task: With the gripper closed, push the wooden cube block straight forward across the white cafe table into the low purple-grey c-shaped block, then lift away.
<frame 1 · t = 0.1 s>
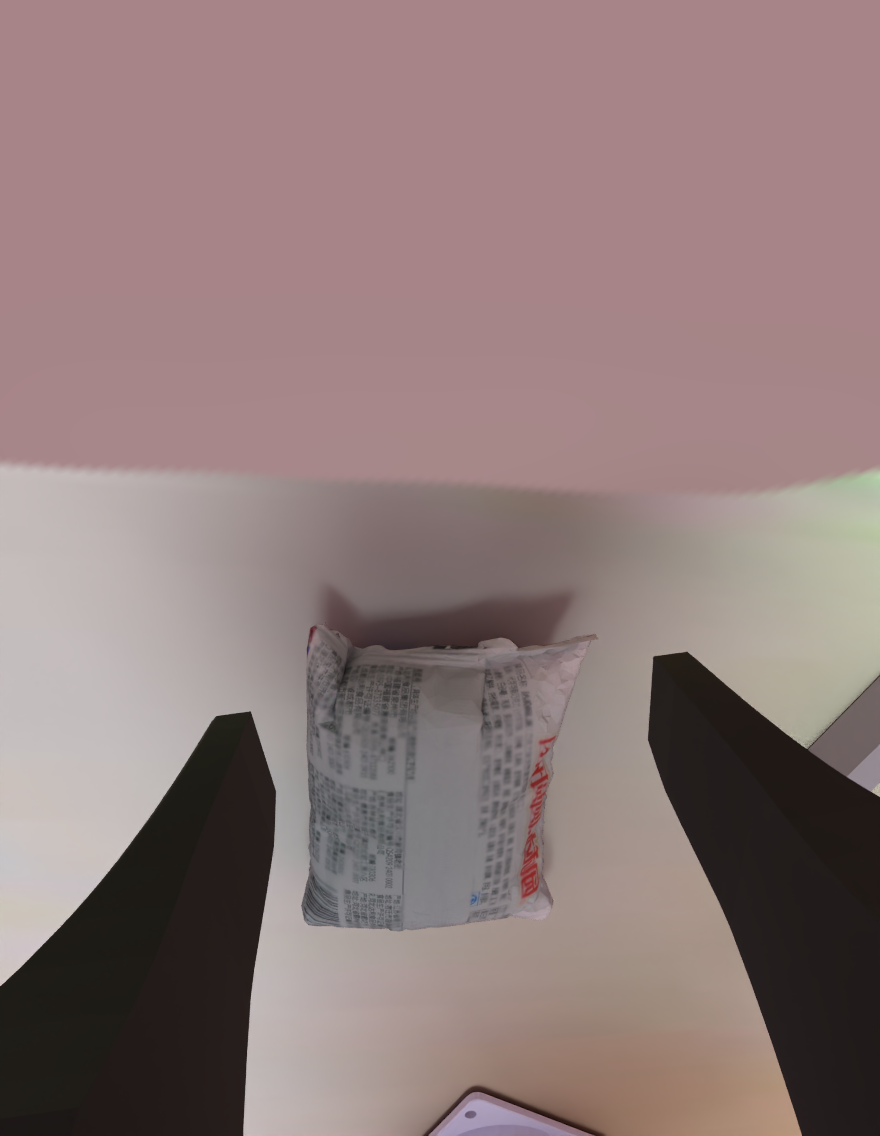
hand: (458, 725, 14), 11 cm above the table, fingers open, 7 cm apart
packaged food: (441, 743, 27), on the table
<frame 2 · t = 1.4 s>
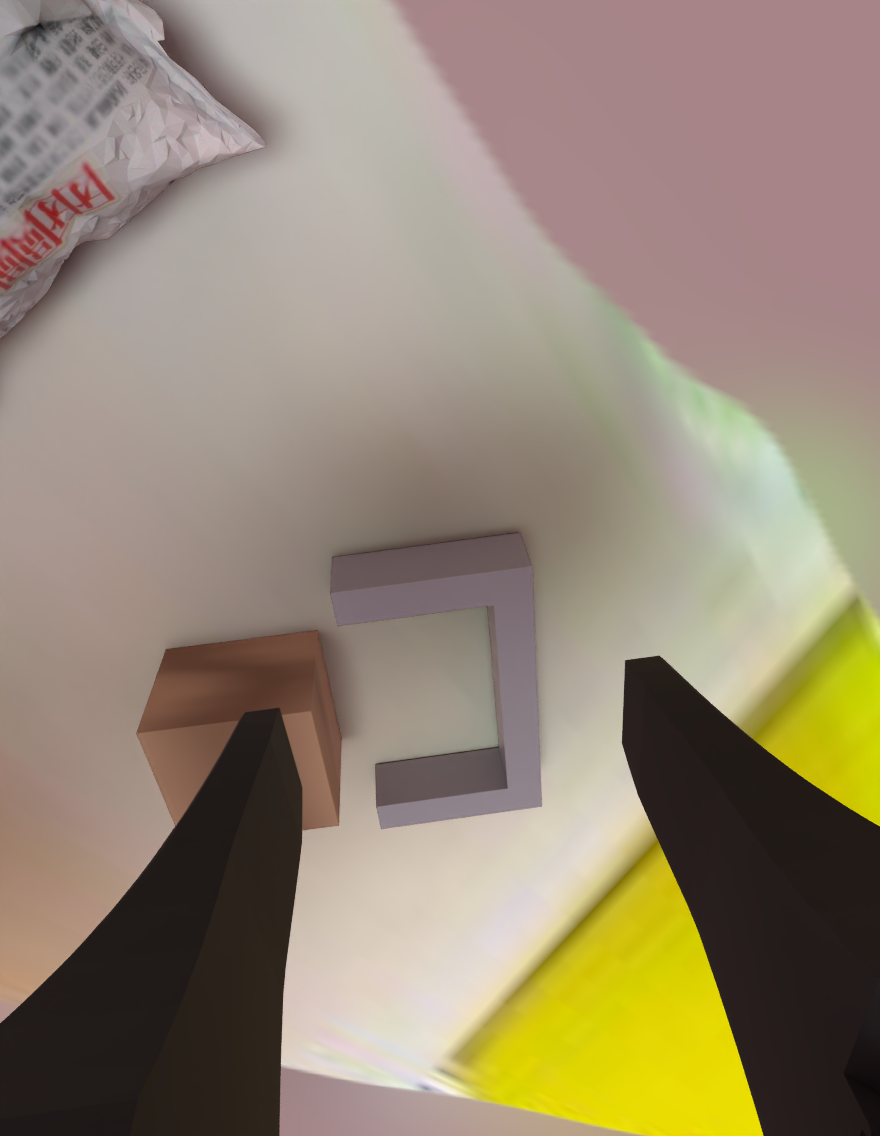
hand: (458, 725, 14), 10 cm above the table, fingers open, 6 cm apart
wooden cube block: (258, 694, 26), on the table
purple-grey c-shaped block: (358, 684, 26), on the table
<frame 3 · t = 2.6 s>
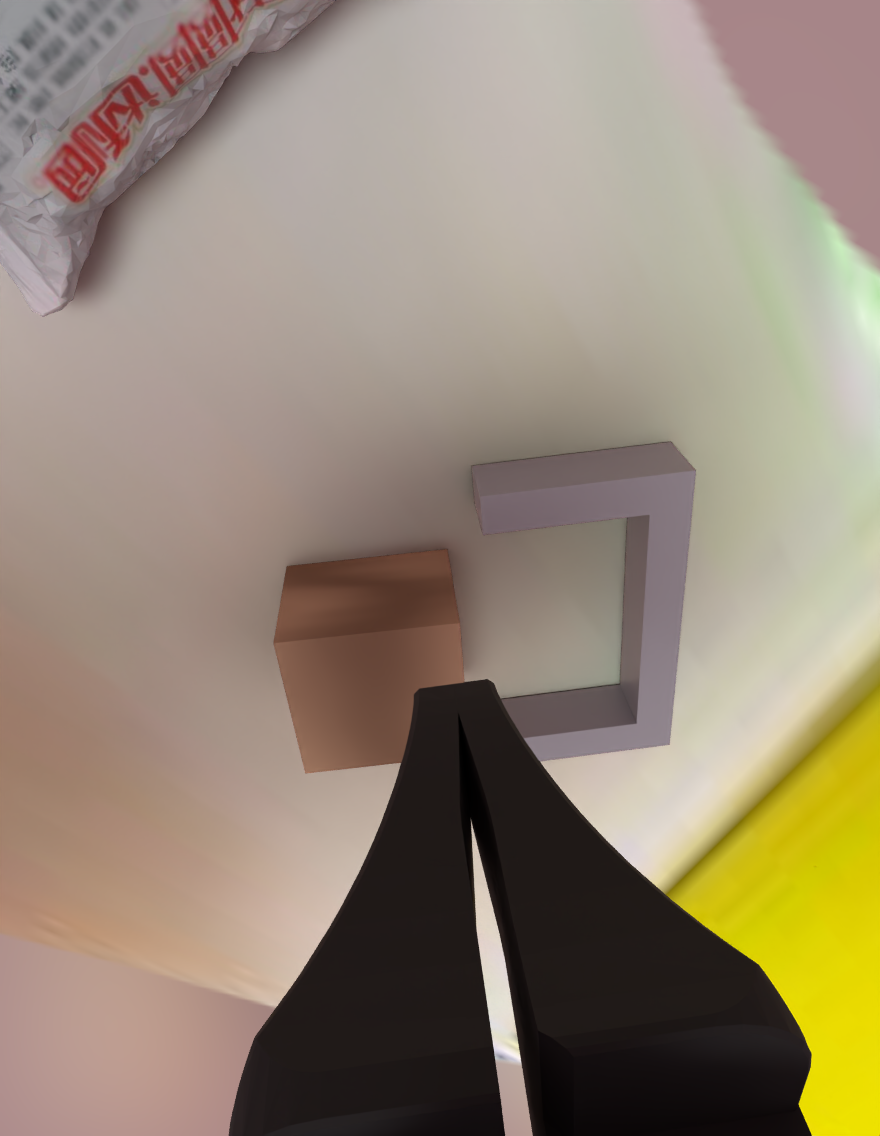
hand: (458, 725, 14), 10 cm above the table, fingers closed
wooden cube block: (376, 619, 25), on the table
purple-grey c-shaped block: (482, 610, 25), on the table
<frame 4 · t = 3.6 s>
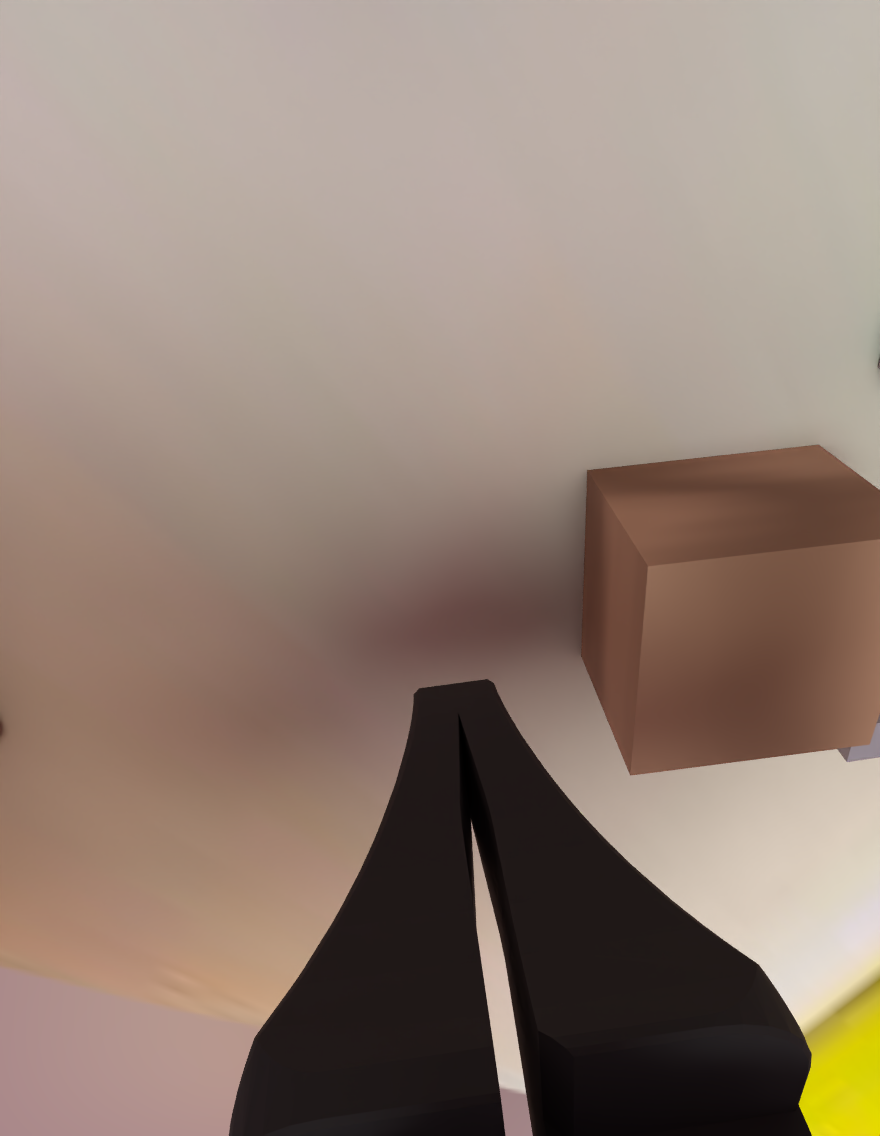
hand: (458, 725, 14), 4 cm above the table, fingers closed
wooden cube block: (689, 554, 17), on the table
purple-grey c-shaped block: (841, 538, 17), on the table
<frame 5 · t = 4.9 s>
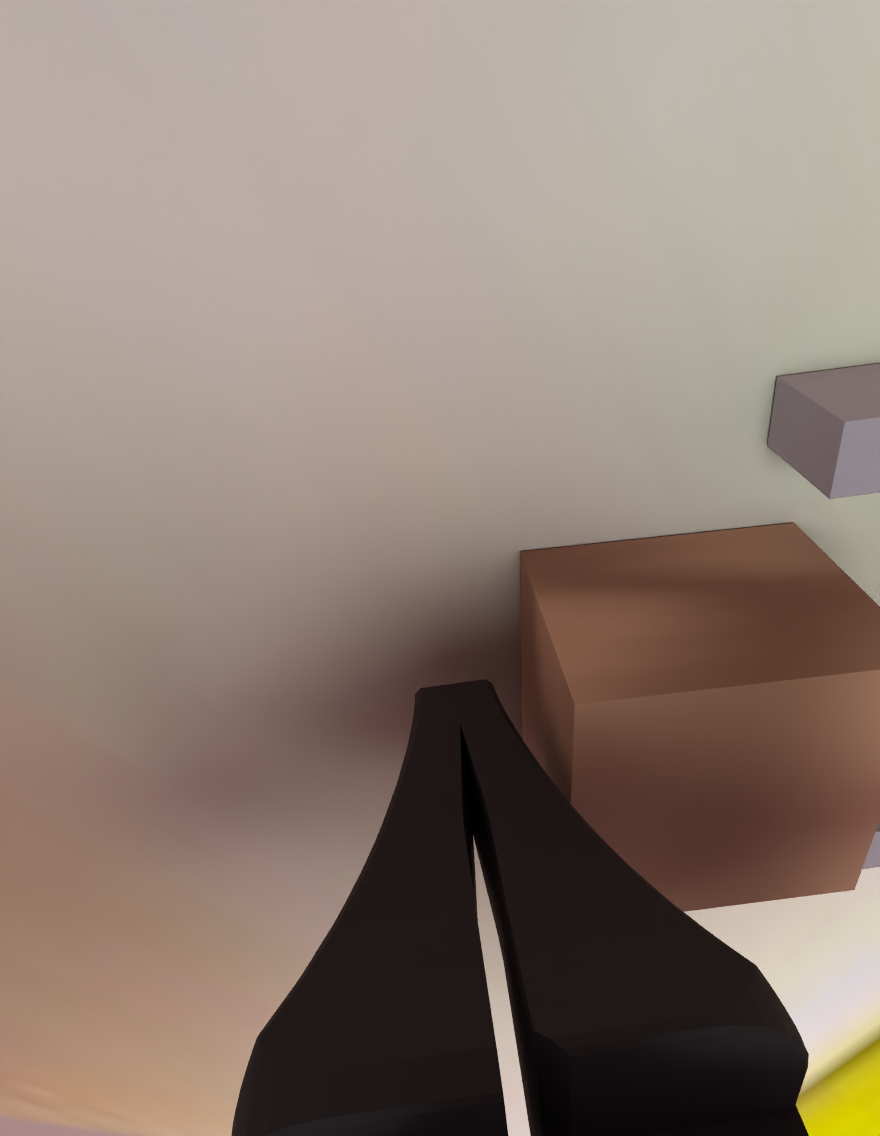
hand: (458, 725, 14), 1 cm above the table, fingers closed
wooden cube block: (646, 647, 15), on the table, touching gripper
purple-grey c-shaped block: (740, 633, 15), on the table
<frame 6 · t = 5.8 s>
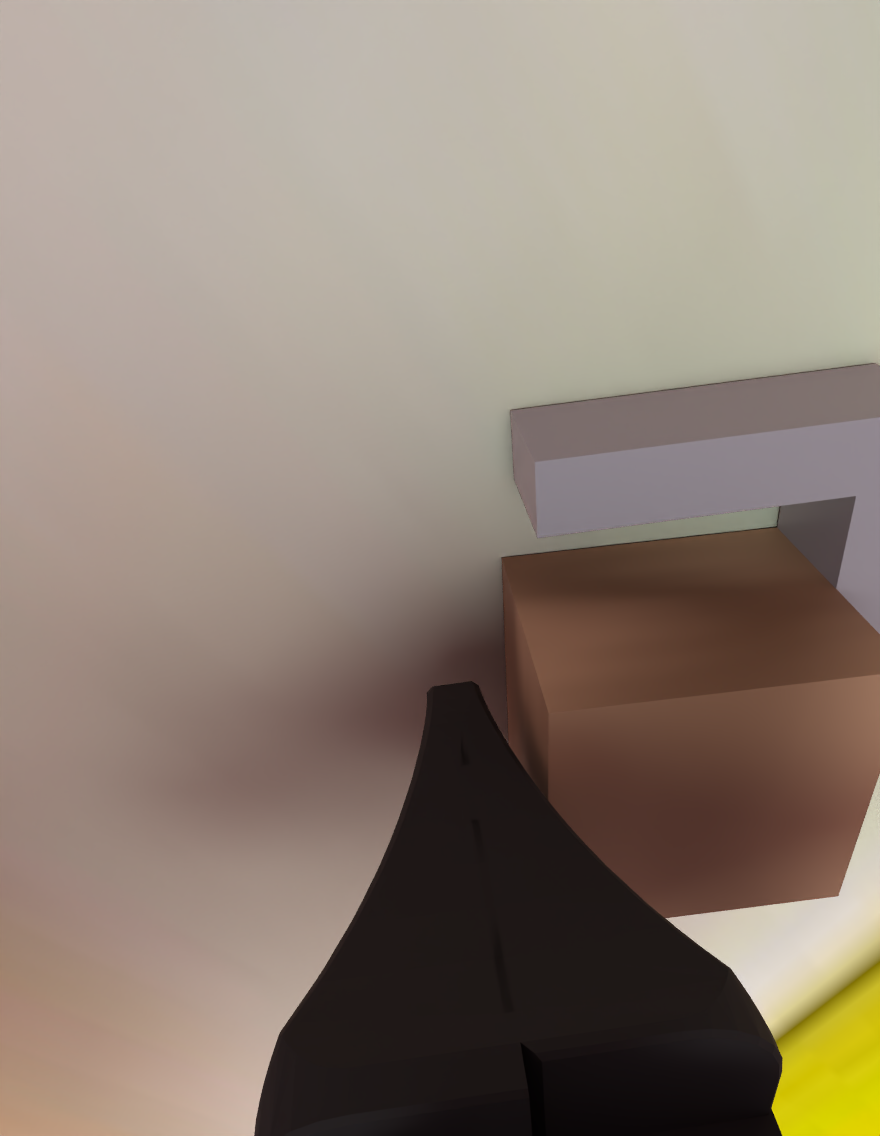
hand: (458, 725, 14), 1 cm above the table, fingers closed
wooden cube block: (631, 651, 15), on the table, touching purple-grey c-shaped block, gripper
purple-grey c-shaped block: (523, 663, 15), on the table
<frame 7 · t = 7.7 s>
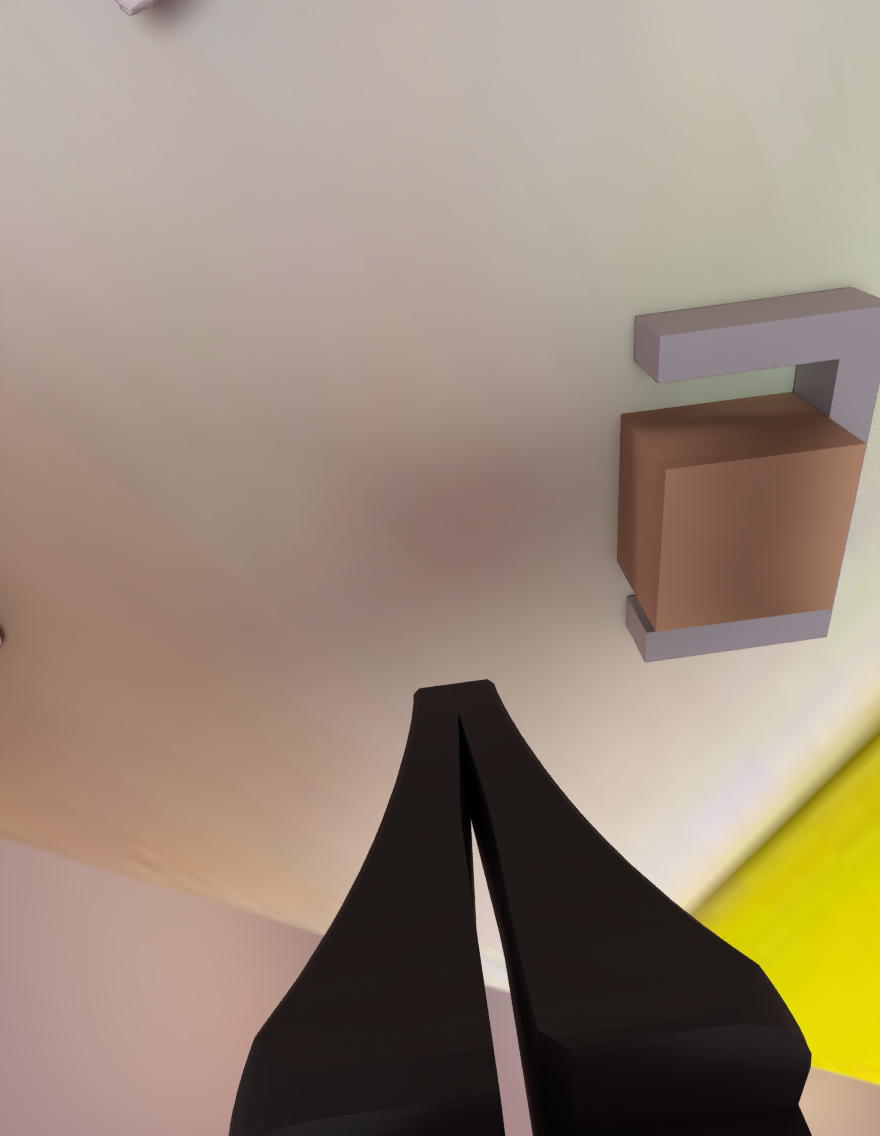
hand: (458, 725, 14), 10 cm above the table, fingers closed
wooden cube block: (697, 479, 23), on the table
purple-grey c-shaped block: (630, 489, 23), on the table
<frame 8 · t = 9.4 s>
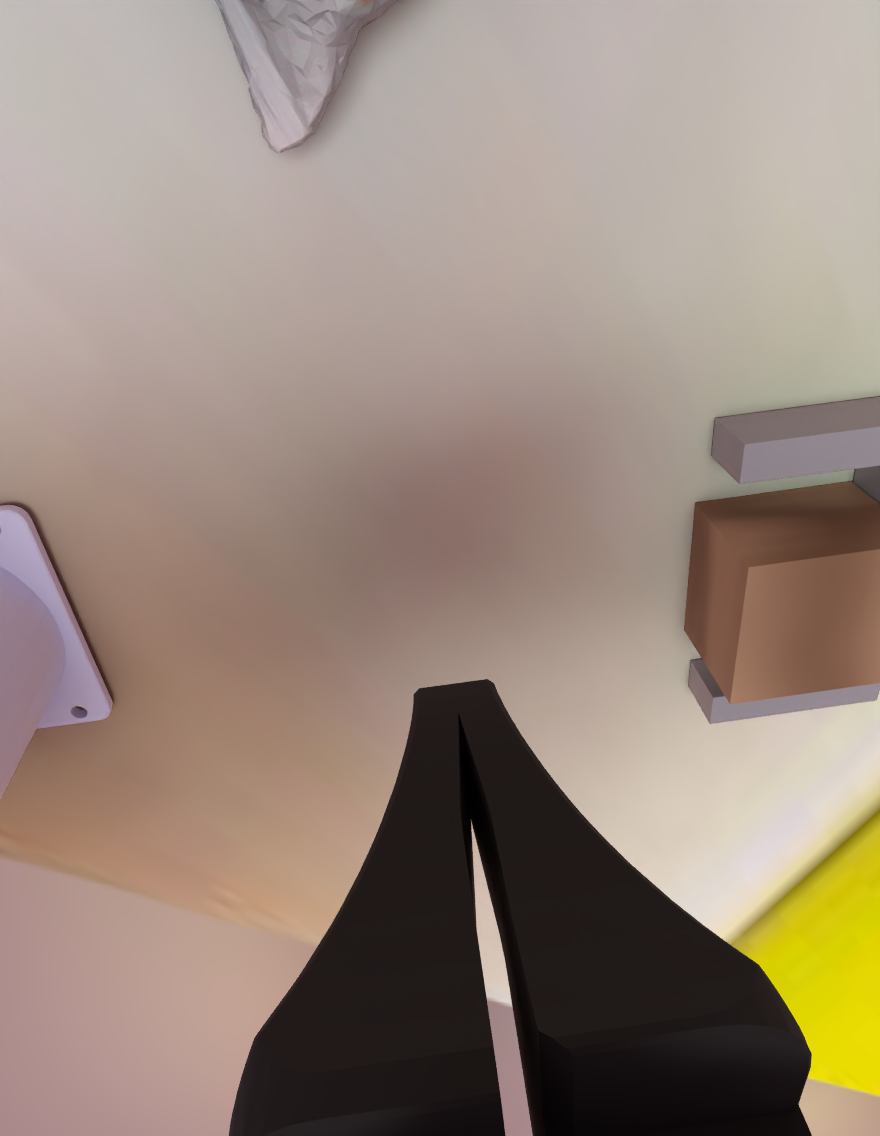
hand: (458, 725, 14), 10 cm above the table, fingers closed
wooden cube block: (761, 556, 25), on the table
purple-grey c-shaped block: (700, 566, 25), on the table
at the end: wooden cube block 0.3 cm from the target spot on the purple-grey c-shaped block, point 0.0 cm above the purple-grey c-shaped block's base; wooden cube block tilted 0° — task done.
